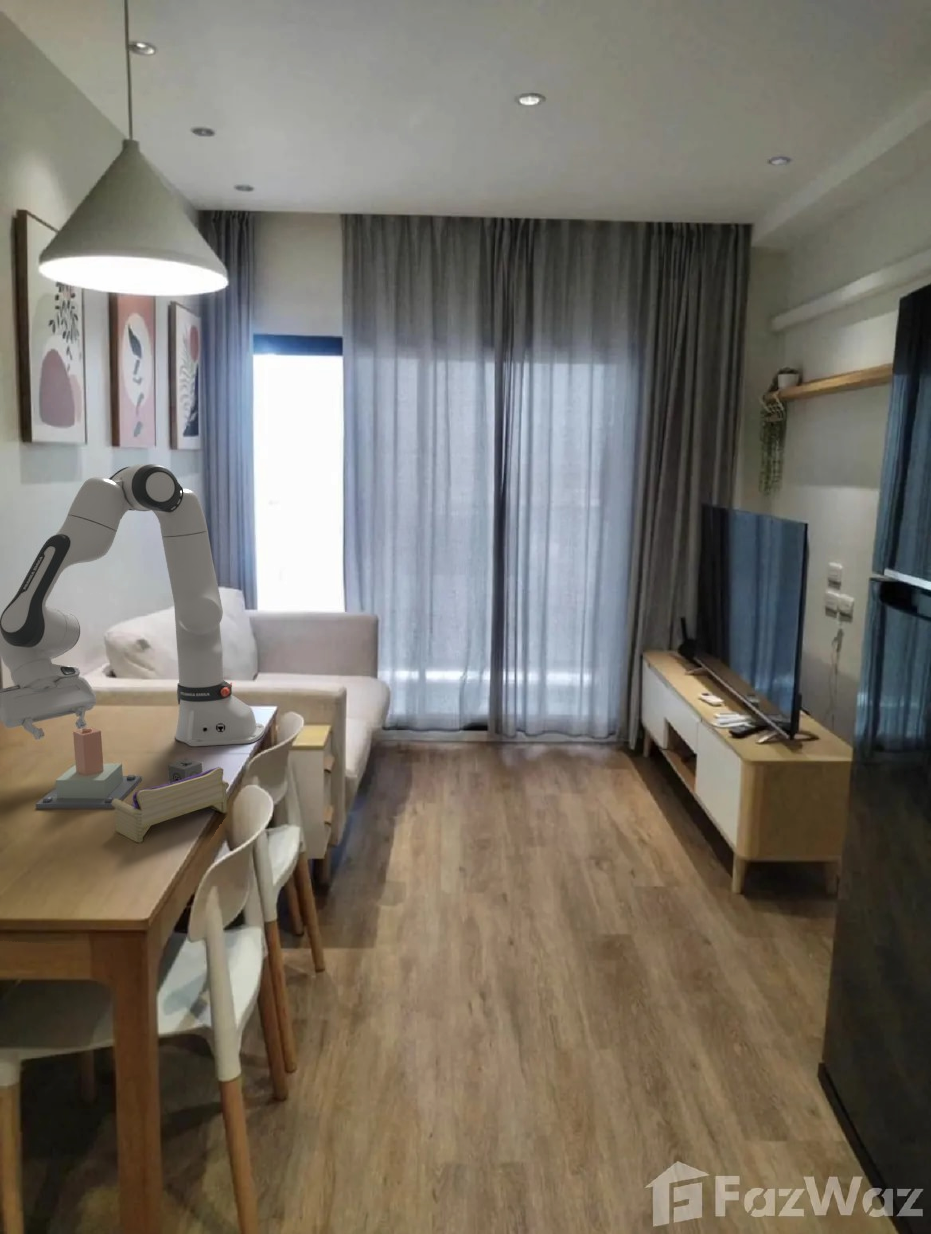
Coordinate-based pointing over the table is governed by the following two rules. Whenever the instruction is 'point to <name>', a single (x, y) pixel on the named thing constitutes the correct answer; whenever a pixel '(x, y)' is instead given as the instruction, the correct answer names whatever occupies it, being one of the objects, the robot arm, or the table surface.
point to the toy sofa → (170, 802)
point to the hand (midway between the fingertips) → (61, 732)
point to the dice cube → (184, 770)
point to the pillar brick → (88, 751)
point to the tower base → (90, 802)
